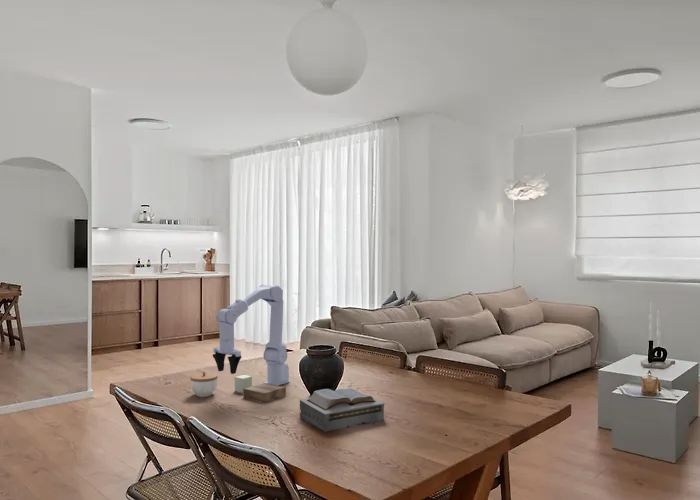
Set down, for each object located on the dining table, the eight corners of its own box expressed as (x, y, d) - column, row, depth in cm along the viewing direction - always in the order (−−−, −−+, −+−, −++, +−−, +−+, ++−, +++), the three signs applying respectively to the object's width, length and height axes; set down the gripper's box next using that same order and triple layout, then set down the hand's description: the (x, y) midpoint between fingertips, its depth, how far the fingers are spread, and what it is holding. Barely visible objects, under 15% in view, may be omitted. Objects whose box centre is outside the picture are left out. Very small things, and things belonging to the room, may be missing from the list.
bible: (295, 413, 203) (295, 387, 203) (364, 406, 212) (364, 380, 212) (314, 434, 181) (314, 404, 181) (389, 424, 191) (389, 396, 191)
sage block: (243, 388, 238) (243, 374, 238) (251, 390, 235) (251, 376, 234) (234, 391, 234) (234, 376, 234) (242, 393, 231) (242, 378, 231)
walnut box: (265, 392, 233) (265, 382, 233) (285, 397, 226) (285, 387, 226) (243, 398, 224) (243, 388, 224) (264, 403, 216) (264, 393, 216)
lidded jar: (201, 399, 220) (201, 376, 220) (185, 395, 227) (185, 372, 227) (223, 394, 229) (222, 371, 229) (206, 390, 235) (206, 368, 235)
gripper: (207, 338, 226) (207, 371, 226) (231, 341, 217) (231, 376, 217) (221, 335, 231) (221, 368, 232) (244, 339, 223) (244, 373, 223)
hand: (227, 372), depth 225 cm, fingers open, 7 cm apart
